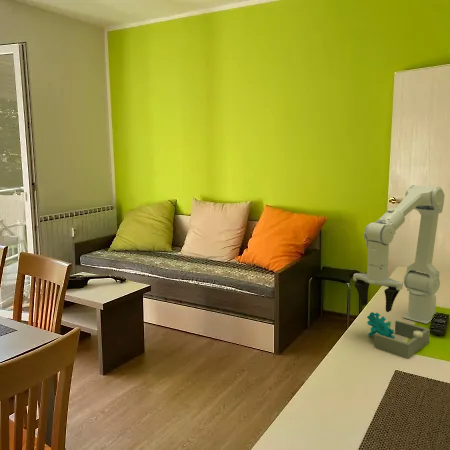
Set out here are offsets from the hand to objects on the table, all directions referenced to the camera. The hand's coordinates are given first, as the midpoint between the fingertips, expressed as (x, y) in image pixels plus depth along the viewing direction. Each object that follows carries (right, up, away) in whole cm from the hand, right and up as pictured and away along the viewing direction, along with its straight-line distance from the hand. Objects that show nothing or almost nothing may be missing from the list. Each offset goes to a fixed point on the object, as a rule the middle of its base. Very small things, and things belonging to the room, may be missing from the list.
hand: (376, 307), depth 134 cm
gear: (+2, -10, +2) cm, 10 cm away
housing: (+7, -10, -3) cm, 12 cm away
